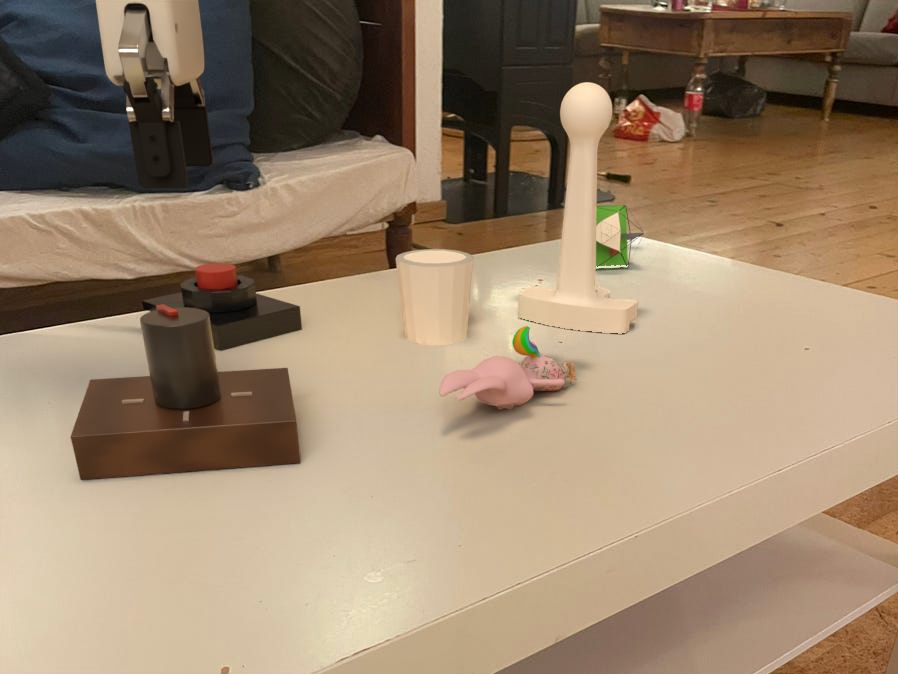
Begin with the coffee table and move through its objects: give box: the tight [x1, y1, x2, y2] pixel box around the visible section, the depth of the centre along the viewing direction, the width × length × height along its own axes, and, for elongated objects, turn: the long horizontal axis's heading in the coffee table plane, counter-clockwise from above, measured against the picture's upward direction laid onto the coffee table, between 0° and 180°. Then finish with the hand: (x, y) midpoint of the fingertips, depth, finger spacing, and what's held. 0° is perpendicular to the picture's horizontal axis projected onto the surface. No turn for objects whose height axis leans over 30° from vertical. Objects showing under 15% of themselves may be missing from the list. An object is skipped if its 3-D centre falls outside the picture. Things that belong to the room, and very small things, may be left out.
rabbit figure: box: [438, 325, 577, 411], centre depth 74 cm, size 6×6×15 cm
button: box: [194, 262, 238, 289], centre depth 90 cm, size 4×4×2 cm
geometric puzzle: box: [596, 204, 646, 267], centre depth 111 cm, size 7×7×8 cm
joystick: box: [517, 81, 639, 335], centre depth 90 cm, size 11×8×20 cm
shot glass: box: [395, 248, 475, 346], centre depth 88 cm, size 7×7×7 cm
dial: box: [139, 304, 221, 409], centre depth 66 cm, size 4×4×6 cm
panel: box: [70, 367, 301, 481], centre depth 68 cm, size 14×11×3 cm
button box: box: [141, 274, 303, 352], centre depth 91 cm, size 12×9×4 cm
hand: (179, 175), depth 71 cm, fingers open, 9 cm apart
